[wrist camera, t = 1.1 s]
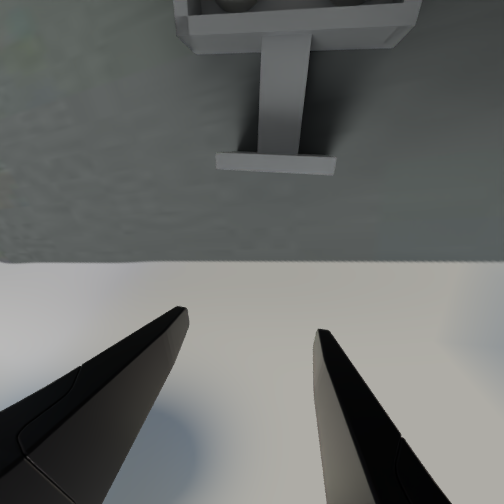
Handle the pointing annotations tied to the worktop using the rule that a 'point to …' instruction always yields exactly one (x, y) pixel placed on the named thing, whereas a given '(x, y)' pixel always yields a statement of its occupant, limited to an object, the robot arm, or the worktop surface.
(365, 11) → the tray
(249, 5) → the cream rounded block
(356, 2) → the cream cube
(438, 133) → the worktop surface
